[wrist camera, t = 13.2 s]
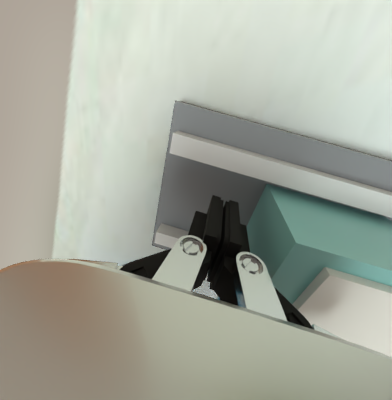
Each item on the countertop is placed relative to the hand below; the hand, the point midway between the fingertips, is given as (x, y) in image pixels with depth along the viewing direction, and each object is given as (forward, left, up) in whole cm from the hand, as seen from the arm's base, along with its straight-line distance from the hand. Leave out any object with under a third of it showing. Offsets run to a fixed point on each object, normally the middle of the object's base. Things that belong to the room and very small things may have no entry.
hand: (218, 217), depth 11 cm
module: (0, -7, -2) cm, 7 cm away
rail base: (0, -4, -4) cm, 6 cm away
